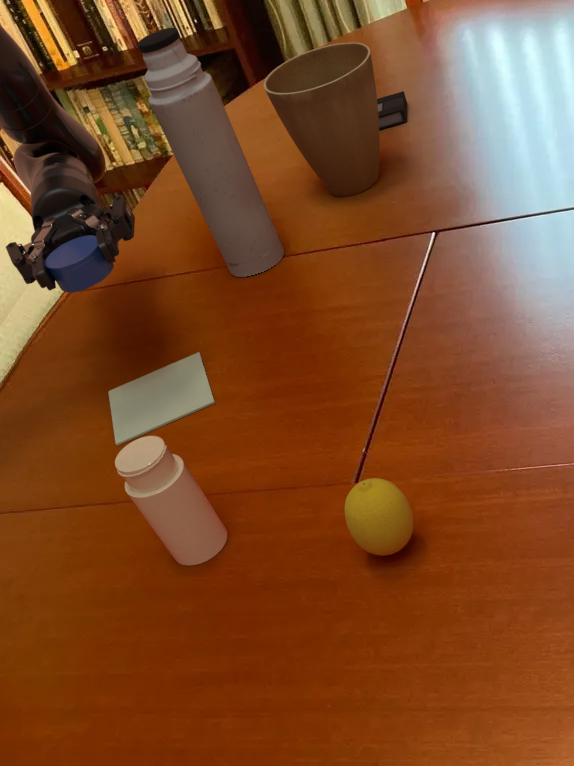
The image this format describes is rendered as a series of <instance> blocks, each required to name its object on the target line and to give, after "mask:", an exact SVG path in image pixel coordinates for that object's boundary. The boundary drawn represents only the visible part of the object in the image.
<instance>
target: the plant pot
mask: <svg viewBox="0 0 574 766" xmlns="http://www.w3.org/2000/svg"><path fill="white" fill-rule="evenodd" d="M375 79H376V78H375V72H374V67H373V59H372V53H371V49H370V47H369V46H368V44H365V43H362V42H353V41H351V42H340V43H333V44H329V45H323V46H321V47H318V48H314V49H310V50H308V51H304V52H302V53H299V54H298V55H295V56H293V57H292V58H289V59H288V60H286V61H285V62H283V63H282V64H279V65H278V66H276V67H275V68H274V69H272V71H270V73H269V74H268V75H267V76H266V77H265V79H264V82H263V85H262V86H263V89H264V91H265V93H266V95H267V97H268V99H269V101H270V103H271V105H272V106H273V109H274V110H275V112H276V114H277V116H278V118H279V119H280V122H281V123H282V125H283V127H284V128H285V130H286V132H287V133H288V136H290V138H291V140H292V141H293V143H294V145H295V146H296V147H297V149H298V151H299V153H300V154H301V155H302V157H303V158H304V160H305V161H306V162H307V164H308V165H309V167H310V168H311V169H312V171H313V172H314V174H315V175H316V176H317V177H318V179H319V180H320V181H321V183H323V185H324V186H325V187H326V188H327V190H328V191H329V192H330V193H331V194H332V195H333V196H335V197H349V196H354V195H357V194H360V193H362V192H365V191H366V190H368V189H370V188H371V187H372V186H374V185H375V184H376V183H377V181H378V179H379V177H380V176H379V175H380V174H379V173H380V130H379V117H378V104H377V99H378V96H377V88H376V87H377V86H376V80H375Z"/></svg>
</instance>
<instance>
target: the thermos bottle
mask: <svg viewBox="0 0 574 766" xmlns="http://www.w3.org/2000/svg"><path fill="white" fill-rule="evenodd" d="M136 46H137V49H138V50H139V52H140V53H141V54H142V59H143V61H144V63H145V66H146V68H147V71H146V73H145V75H144V81H145V83H146V89H147V90H148V91H150V96H149V97H148V104H149V106H150V108H151V110H152V113H153V115H154V117H155V118H156V120H157V122H158V125H159V126H160V129H161V130H162V132H163V134H164V136H165V139H166V141H167V143H168V145H169V147H170V150H171V151H172V154H173V156H174V158H175V161H176V162H177V164H178V166H179V168H180V170H181V173H182V174H183V177H184V180H185V181H186V184H187V185H188V187H189V189H190V191H191V194H192V196H193V198H194V200H195V202H196V204H197V206H198V208H199V210H200V213H201V214H202V216H203V218H204V220H205V222H206V225H207V227H208V229H209V232H210V233H211V235H212V237H213V240H214V242H215V244H216V247H217V248H218V250H219V252H220V254H221V256H222V259H223V261H224V263H225V265H226V267H227V269H228V271H229V273H230V274H231V275H232V276H234V277H236V278H248V277H247V276H250V277H252V276H251V275H254V276H256V275H255V274H257V275H259V274H258V273H260V274H262V273H265V272H266V270H267V271H269V270H270V269H272V268H273V267H275V266H277V264H279V263H280V261H281V260H282V259H283V257H284V256H285V249H284V246H283V244H282V241H281V239H280V237H279V234H278V232H277V229H276V227H275V224H274V222H273V220H272V217H271V216H270V212H269V210H268V208H267V206H266V203H265V201H264V199H263V196H262V194H261V191H260V189H259V187H258V184H257V182H256V179H255V177H254V175H253V172H252V170H251V168H250V165H249V162H248V161H247V159H246V156H245V153H244V151H243V148H242V146H241V143H240V141H239V139H238V136H237V134H236V132H235V129H234V127H233V125H232V123H231V120H230V117H229V115H228V112H227V111H226V108H225V105H224V103H223V101H222V98H221V96H220V93H219V91H218V89H217V87H216V84H215V82H214V80H213V76H211V74H210V73H207V72H204V71H203V69H202V62H200V61H199V59H198V57H197V56H196V55H193V54H191V53H188V52H187V50H186V48H185V46H184V43H183V41H181V40H180V32H179V30H178V28H176V27H166V28H163V29H158V30H155V31H154V32H151V33H150V34H147V35H146V36H143V38H141V39H140V40H139V41H138V42H137V43H136ZM274 265H275V266H274ZM271 267H272V268H271ZM268 269H269V270H268ZM264 271H265V272H264ZM261 272H262V273H261Z"/></svg>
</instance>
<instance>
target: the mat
mask: <svg viewBox="0 0 574 766" xmlns="http://www.w3.org/2000/svg"><path fill="white" fill-rule="evenodd" d="M202 361H203V358H202V354H201V352H200V351H198V352H195V353H193V354H191V355H189V356H186V357H184V358H182V359H180V360H177V361H174V362H173V363H170V364H168V365H166V366H163V367H161V368H158V369H156V370H154V371H152V372H149V373H147V374H145V375H142V376H140V377H138V378H136V379H134V380H130V381H128V382H126V383H124V384H122V385H119V386H117V387H115V388H113V389H110V390H109V391H108V399H109V400H108V401H109V406H110V413H111V421H112V428H113V435H114V441H115V442H114V443H115V446H117V447H118V446H120V445H123V444H125V443H127V442H129V441H132V440H134V439H136V438H137V439H138V438H140V437H141V436H143V435H146V434H148V433H150V432H153V431H155V430H157V429H159V428H162V427H165V426H167V425H169V424H171V423H174V422H176V421H177V420H180V419H183V418H185V417H187V416H190V415H192V414H194V413H196V412H199V411H201V410H203V409H206V408H208V407H210V406H212V405H215V404H216V401H215V398H214V394H213V392H212V388H211V385H210V381H209V377H208V374H207V372H206V368H205V365H203V364H204V362H202ZM206 374H207V375H206ZM212 394H213V395H212Z"/></svg>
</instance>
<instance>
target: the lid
mask: <svg viewBox="0 0 574 766" xmlns="http://www.w3.org/2000/svg"><path fill="white" fill-rule="evenodd" d="M45 265H46V267H47V269H48V270H49V272H50V273H51V275H52V276H53V278H54V279H55V283H56V284H57V286H58V287H59V288H60V290H61V291H62V292H64V293H69V294H70V293H78V292H82V291H84V290H87V289H90V288H92V287H94V286H96V285H97V284H99V283H101V282H103V280H104V279H106V278H107V277H108V276H109V275H110V274H111V273H112V271H113V270H114V267H115V264H114V262H113V263H111V264H109V263H108V261H107V260H106V258H105V256H104V255H103V253H102V251H101V250H100V248H99V246H98V242H97V238H96V236H92V235H88V236H82V237H78V238H75V239H73V240H70V241H68V242H66V243H64V244H63V245H61V246H59V247H58V248H56V249H55V250H54V251H53V252H52V253H51V254H50V255H49V256H48V257H47V259H46V261H45Z"/></svg>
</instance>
